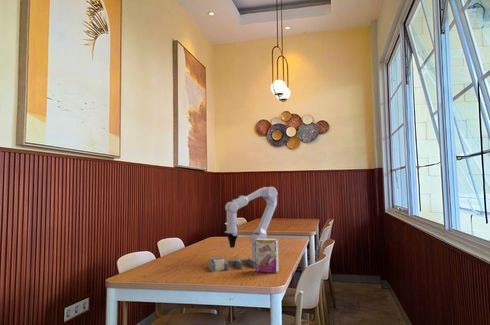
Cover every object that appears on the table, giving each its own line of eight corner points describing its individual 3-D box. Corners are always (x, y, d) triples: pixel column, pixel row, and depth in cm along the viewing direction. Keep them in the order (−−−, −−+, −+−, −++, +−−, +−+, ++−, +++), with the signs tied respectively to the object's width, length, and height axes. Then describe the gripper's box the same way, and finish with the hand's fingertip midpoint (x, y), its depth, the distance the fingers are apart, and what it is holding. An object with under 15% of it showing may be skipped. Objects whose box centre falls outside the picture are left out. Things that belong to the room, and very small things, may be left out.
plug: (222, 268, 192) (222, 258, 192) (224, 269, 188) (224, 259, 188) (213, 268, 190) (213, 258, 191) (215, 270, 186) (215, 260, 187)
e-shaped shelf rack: (249, 263, 201) (248, 254, 202) (255, 268, 189) (255, 258, 190) (208, 267, 195) (208, 257, 195) (212, 271, 183) (212, 262, 183)
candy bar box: (255, 272, 180) (254, 239, 181) (258, 270, 185) (257, 238, 186) (276, 273, 177) (275, 240, 178) (279, 271, 181) (278, 238, 182)
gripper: (222, 222, 208) (222, 245, 207) (227, 224, 194) (228, 249, 193) (233, 221, 210) (234, 245, 209) (240, 223, 196) (240, 249, 195)
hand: (232, 247), depth 201 cm, fingers closed
